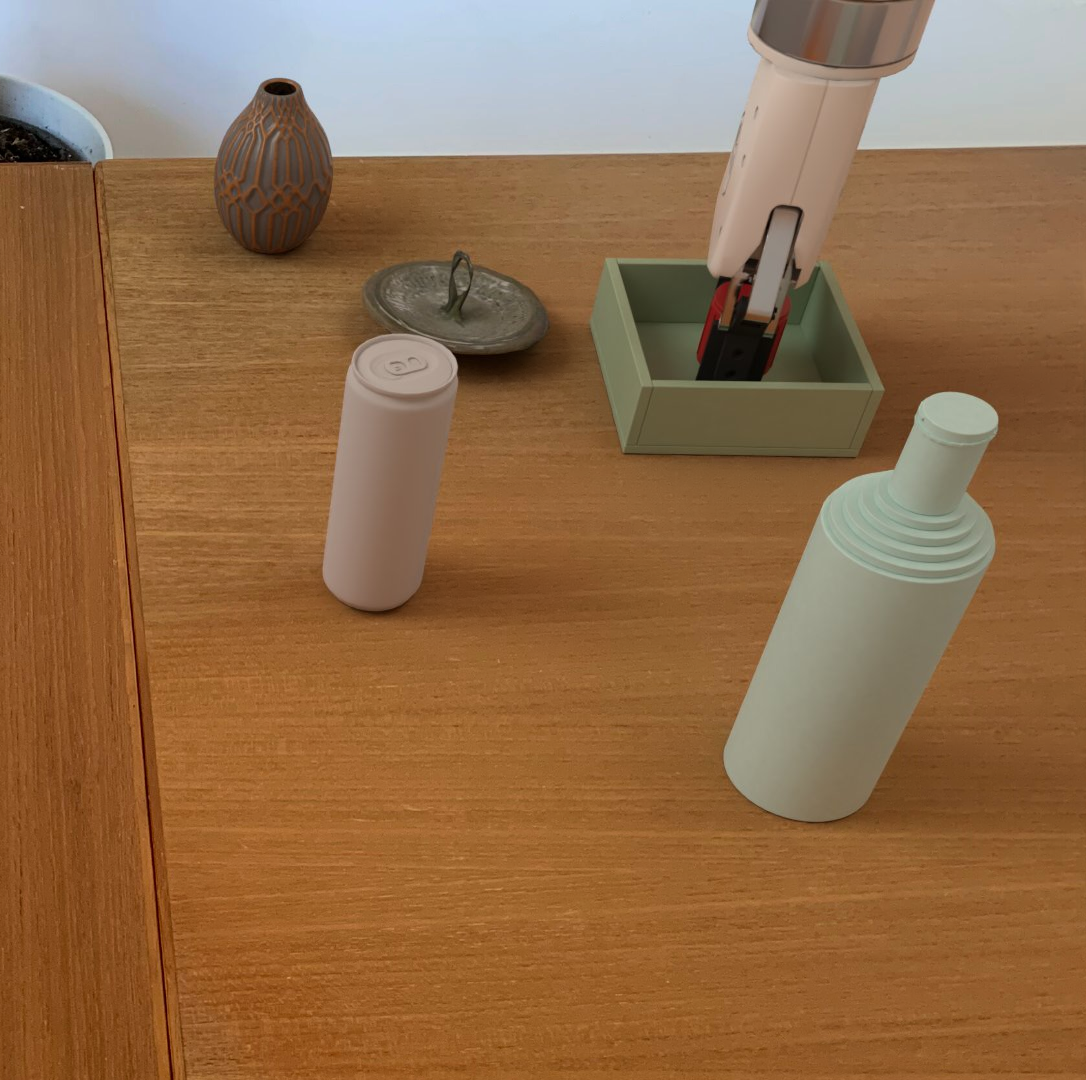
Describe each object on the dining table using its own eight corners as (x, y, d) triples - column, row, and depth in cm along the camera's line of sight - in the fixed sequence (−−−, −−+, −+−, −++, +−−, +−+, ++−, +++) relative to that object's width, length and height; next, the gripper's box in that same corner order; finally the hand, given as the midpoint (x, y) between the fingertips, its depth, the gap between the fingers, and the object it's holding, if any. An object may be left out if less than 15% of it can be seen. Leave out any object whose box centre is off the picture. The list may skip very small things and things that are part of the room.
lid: (340, 383, 95) (349, 316, 90) (375, 252, 98) (387, 182, 94) (527, 418, 93) (547, 353, 89) (556, 285, 97) (576, 216, 92)
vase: (268, 280, 98) (280, 129, 92) (187, 234, 102) (193, 84, 95) (350, 239, 101) (367, 89, 94) (269, 195, 104) (280, 47, 97)
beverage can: (303, 567, 83) (328, 346, 73) (390, 542, 84) (425, 321, 74) (350, 627, 80) (382, 406, 70) (438, 601, 81) (482, 379, 72)
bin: (805, 327, 96) (829, 260, 92) (857, 457, 88) (885, 390, 85) (589, 323, 96) (605, 257, 93) (622, 453, 88) (641, 386, 85)
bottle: (851, 719, 76) (1022, 361, 62) (889, 823, 72) (1081, 468, 58) (709, 717, 76) (848, 360, 62) (739, 822, 72) (894, 466, 58)
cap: (701, 334, 92) (719, 273, 89) (775, 347, 91) (795, 286, 88) (690, 373, 90) (709, 312, 87) (766, 387, 89) (787, 326, 86)
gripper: (766, -73, 82) (669, 280, 97) (744, 82, 72) (640, 448, 87) (928, -55, 81) (804, 300, 95) (926, 105, 71) (790, 473, 86)
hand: (727, 367), depth 91 cm, fingers closed on cap, 3 cm apart
